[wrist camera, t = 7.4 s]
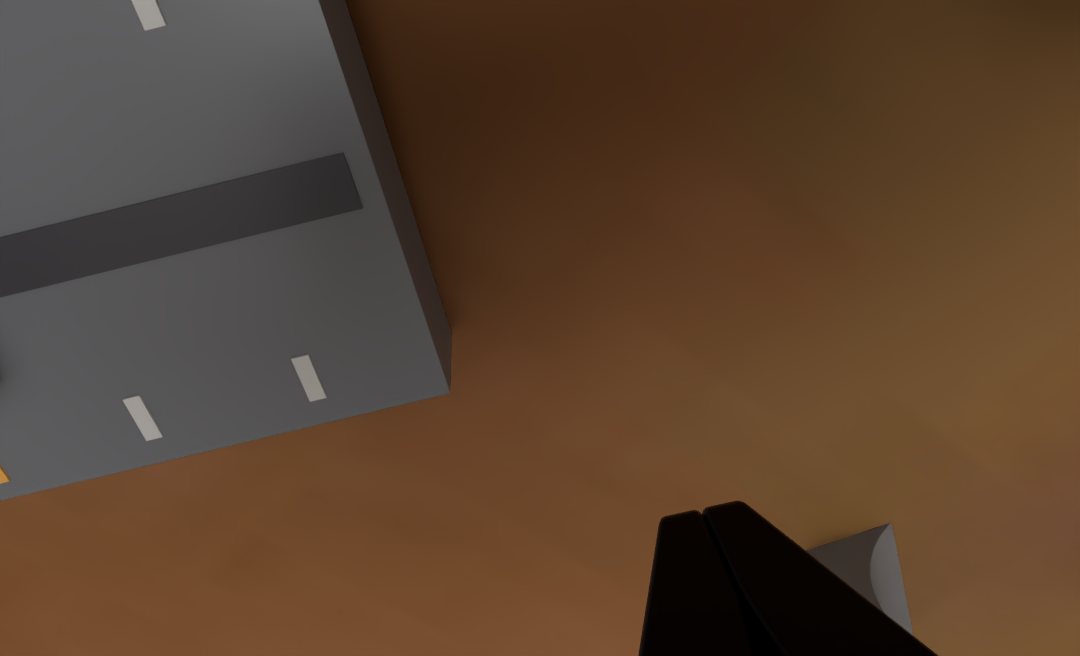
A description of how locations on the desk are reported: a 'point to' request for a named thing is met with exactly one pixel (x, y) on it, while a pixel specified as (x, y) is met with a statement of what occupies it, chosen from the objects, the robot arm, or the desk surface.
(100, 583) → the desk surface
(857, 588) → the skate ramp
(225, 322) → the fader console
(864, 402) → the desk surface
